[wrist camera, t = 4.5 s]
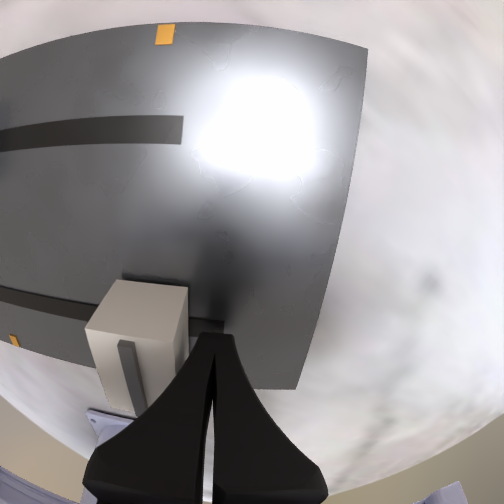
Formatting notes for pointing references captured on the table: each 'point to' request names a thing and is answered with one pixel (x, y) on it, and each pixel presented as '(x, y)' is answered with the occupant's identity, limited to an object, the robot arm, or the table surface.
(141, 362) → the block
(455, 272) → the table surface
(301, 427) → the table surface
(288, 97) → the plate
